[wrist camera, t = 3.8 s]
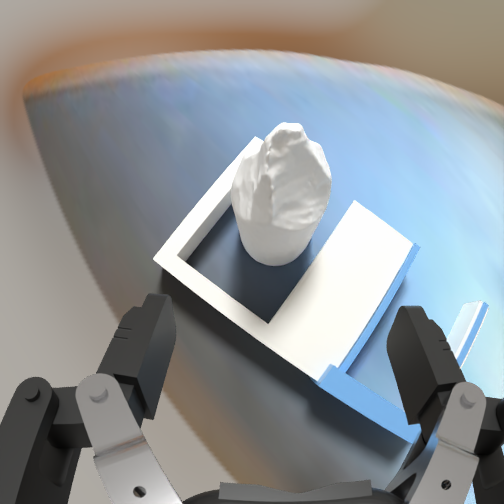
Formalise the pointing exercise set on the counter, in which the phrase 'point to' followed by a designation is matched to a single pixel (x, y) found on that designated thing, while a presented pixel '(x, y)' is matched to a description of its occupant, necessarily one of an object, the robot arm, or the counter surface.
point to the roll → (280, 194)
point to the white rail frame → (323, 299)
